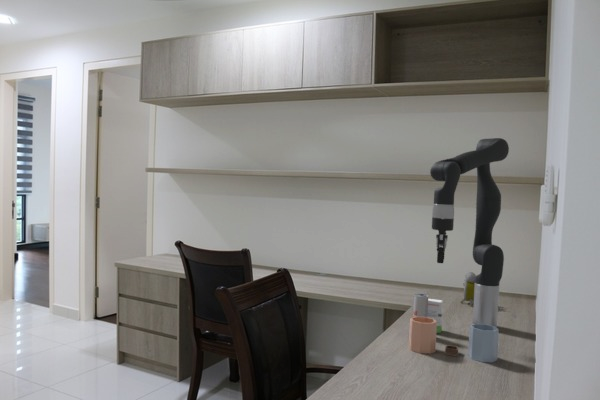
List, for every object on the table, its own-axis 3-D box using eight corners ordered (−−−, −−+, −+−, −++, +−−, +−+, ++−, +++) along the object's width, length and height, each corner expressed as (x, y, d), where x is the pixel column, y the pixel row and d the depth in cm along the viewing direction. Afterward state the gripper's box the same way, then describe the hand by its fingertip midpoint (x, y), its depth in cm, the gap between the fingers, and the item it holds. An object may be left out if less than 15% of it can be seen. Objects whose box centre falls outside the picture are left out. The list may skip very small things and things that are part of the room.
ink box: (442, 330, 190) (443, 299, 190) (440, 333, 185) (442, 302, 185) (419, 326, 193) (421, 297, 193) (417, 330, 189) (419, 299, 188)
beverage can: (416, 331, 186) (418, 292, 185) (428, 335, 183) (430, 294, 182) (409, 334, 182) (411, 294, 181) (422, 338, 179) (424, 297, 178)
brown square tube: (445, 350, 166) (445, 344, 166) (457, 352, 164) (458, 346, 164) (445, 354, 162) (445, 348, 162) (457, 356, 161) (458, 350, 161)
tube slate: (476, 351, 166) (477, 322, 166) (500, 358, 160) (502, 328, 160) (464, 356, 160) (466, 326, 160) (489, 364, 154) (490, 332, 154)
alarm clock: (475, 307, 230) (477, 275, 229) (460, 305, 232) (461, 273, 232) (474, 301, 241) (476, 271, 241) (460, 300, 243) (461, 270, 243)
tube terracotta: (417, 343, 172) (419, 315, 172) (439, 350, 166) (440, 320, 166) (404, 348, 166) (406, 319, 166) (426, 355, 160) (427, 324, 160)
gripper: (433, 215, 186) (430, 258, 186) (431, 217, 172) (428, 263, 173) (453, 216, 184) (451, 259, 184) (453, 218, 170) (451, 265, 171)
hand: (440, 261), depth 178 cm, fingers open, 8 cm apart
